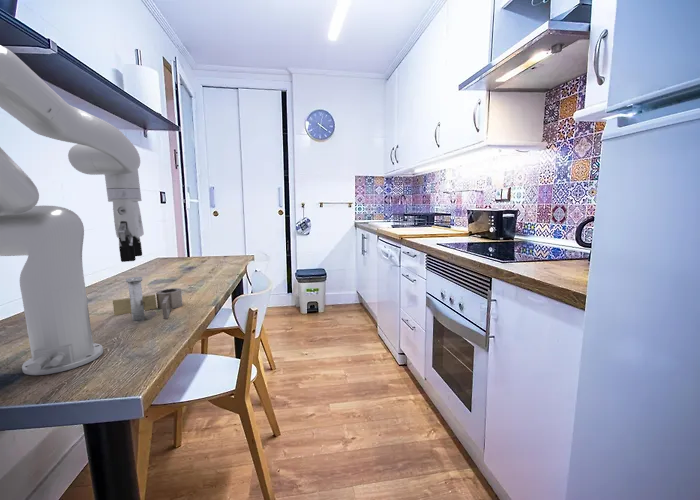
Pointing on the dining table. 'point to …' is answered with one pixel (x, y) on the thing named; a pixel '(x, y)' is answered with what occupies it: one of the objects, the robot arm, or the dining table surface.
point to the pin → (136, 298)
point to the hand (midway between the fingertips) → (132, 258)
